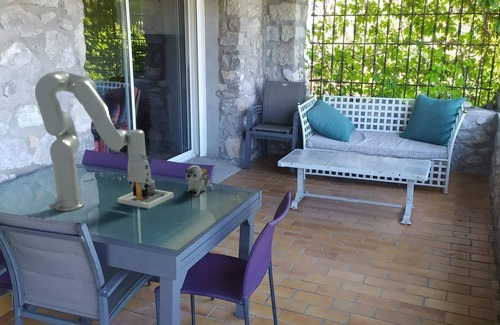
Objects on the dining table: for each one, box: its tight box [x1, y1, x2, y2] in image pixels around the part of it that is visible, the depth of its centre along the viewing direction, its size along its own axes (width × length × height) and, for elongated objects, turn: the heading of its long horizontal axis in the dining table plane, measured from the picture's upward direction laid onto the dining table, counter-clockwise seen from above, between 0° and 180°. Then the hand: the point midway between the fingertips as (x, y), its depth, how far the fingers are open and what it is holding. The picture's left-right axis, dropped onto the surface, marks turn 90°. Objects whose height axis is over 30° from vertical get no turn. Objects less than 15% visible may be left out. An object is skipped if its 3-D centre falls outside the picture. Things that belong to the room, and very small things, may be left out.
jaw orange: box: [136, 182, 146, 200], centre depth 222 cm, size 5×5×8 cm
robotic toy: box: [184, 164, 214, 197], centre depth 236 cm, size 13×17×15 cm
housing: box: [117, 189, 174, 210], centre depth 226 cm, size 18×18×3 cm
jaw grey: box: [147, 179, 156, 197], centre depth 229 cm, size 5×5×8 cm
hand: (140, 195), depth 222 cm, fingers closed on jaw orange, 4 cm apart
